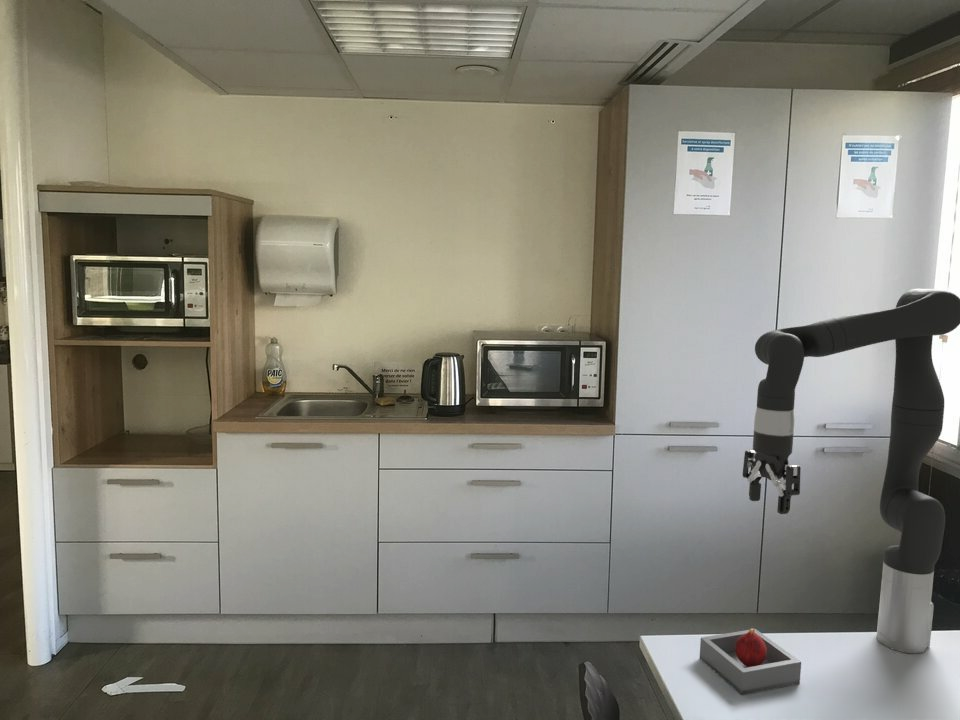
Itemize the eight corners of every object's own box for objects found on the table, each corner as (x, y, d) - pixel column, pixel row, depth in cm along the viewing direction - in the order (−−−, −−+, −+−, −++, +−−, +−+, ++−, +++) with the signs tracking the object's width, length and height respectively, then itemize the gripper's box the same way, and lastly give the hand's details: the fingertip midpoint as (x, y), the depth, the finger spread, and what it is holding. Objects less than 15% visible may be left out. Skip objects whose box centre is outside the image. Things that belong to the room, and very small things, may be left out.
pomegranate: (769, 676, 138) (772, 637, 137) (739, 675, 138) (741, 636, 137) (759, 660, 144) (762, 622, 143) (730, 659, 144) (732, 621, 143)
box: (753, 649, 150) (755, 628, 149) (799, 683, 137) (801, 661, 137) (699, 658, 146) (700, 637, 145) (741, 695, 133) (743, 672, 133)
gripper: (814, 436, 140) (808, 516, 142) (765, 421, 154) (760, 495, 156) (783, 438, 138) (777, 520, 140) (735, 423, 151) (731, 497, 153)
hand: (768, 506), depth 148 cm, fingers open, 8 cm apart
